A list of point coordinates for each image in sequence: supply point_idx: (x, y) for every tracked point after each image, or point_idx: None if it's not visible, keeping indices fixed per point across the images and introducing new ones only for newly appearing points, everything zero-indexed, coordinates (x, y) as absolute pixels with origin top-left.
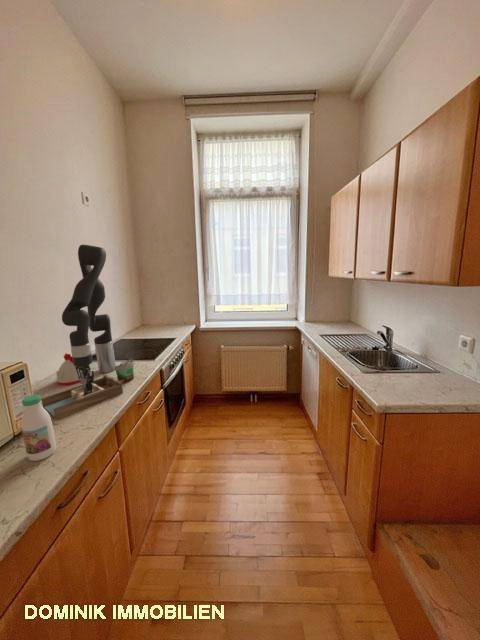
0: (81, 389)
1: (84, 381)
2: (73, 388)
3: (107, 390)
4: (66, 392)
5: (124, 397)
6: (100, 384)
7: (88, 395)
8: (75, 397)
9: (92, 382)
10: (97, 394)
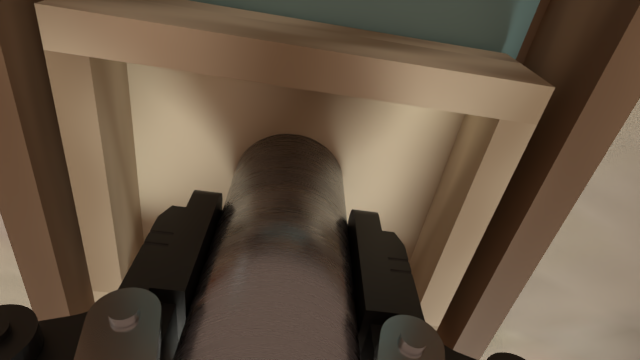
0: (449, 202)
1: (193, 337)
2: (563, 155)
3: (40, 306)
4: (605, 27)
5: (5, 295)
6: None
7: (59, 123)
8: (350, 36)
9: (449, 346)
10: (10, 202)
